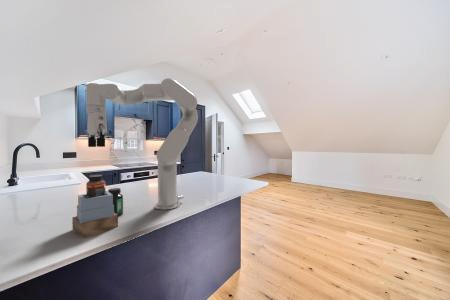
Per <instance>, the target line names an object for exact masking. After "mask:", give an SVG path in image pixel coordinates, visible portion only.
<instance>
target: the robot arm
mask: <svg viewBox="0 0 450 300" xmlns="http://www.w3.org/2000/svg"><path fill="white" fill-rule="evenodd" d="M85 94H86V95H85V97H86V98H85V104H86V105H85V110H86V111H85V113H86V114H88V115H87V123H86V124H87V126H86V127H87V128H86V129H87V131H86V132H87V147H88V148H96V147H97V148H99V147H100V148H103V147H105V148H106V135H107V133H108V128H107V127H108V126H107V125H108V124H107V117H106V115H107V108H106V107H107V100H109V101H111V102H112V103H113V104H115V105H119V106H121V105H122V106H125V105H137V104H142V103H146V102H160V101H172V100H173V101H174V102H176V103H177V104H178V105H179V109H180V111H181V113H182V116H181V118H180V120H179V122H178V123H177V125H176V126H175V128H173V129H171V131H170V132H169V133H168V135H167V136H166V137H165V139H164V141H163V142H162V144H161V146H160V147H159V149H158V150H157V152H156V160H157V202H156V203H155V204H154V208H155V209H156V210H164V211H166V210H172V209H175V208H178V207H179V206H181V202H180V200H183V199H184V197H185V196H184V194H183V195H182V194H181V195H177V194H178V192H177V191H178V189H177V186H178V184H177V183H178V181H177V176H178V174H177V173H178V169H177V167H178V166H177V165H178V161H177V160H178V158H179V156H180V155H181V154H182V152H183V150H184V149H185V148H186V146H187V144H188V142H189V139H190V136H191V135H192V132H193V131H194V129H195V127H196V125H197V124H198V121H199V119H198V118H199V114H198V109H197V105H198V100H197V97H196V96H195V95H194V93H192V92H191V91H190V90H188V88H186V87H185V86H183V85H182V84H181V83H180V82H178V81H177V80H175V79H173V78H164V79H163V80H161V82H160V83H144V84H142V85H140V86H139V87H138V88H135V89H132V90H131V89H130V90H129V89H128V90H122V88H121V87H120V86H119V85H117V84H115V83H97V82H96V83H95V82H90V83H87V84H86V86H85Z"/></svg>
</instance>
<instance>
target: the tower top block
mask: <svg viewBox="0 0 450 300" xmlns="http://www.w3.org/2000/svg"><path fill="white" fill-rule="evenodd" d="M76 216H77V217H78V219H79V221H80V223H85V222H89V221H94V220H98V219H102V218H106V217H111V216H114V205H113V195H112V194H111V193H109V192H108V190H106V195H105V196H98V197H92V198H87V193H83V194H77V205H76Z"/></svg>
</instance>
